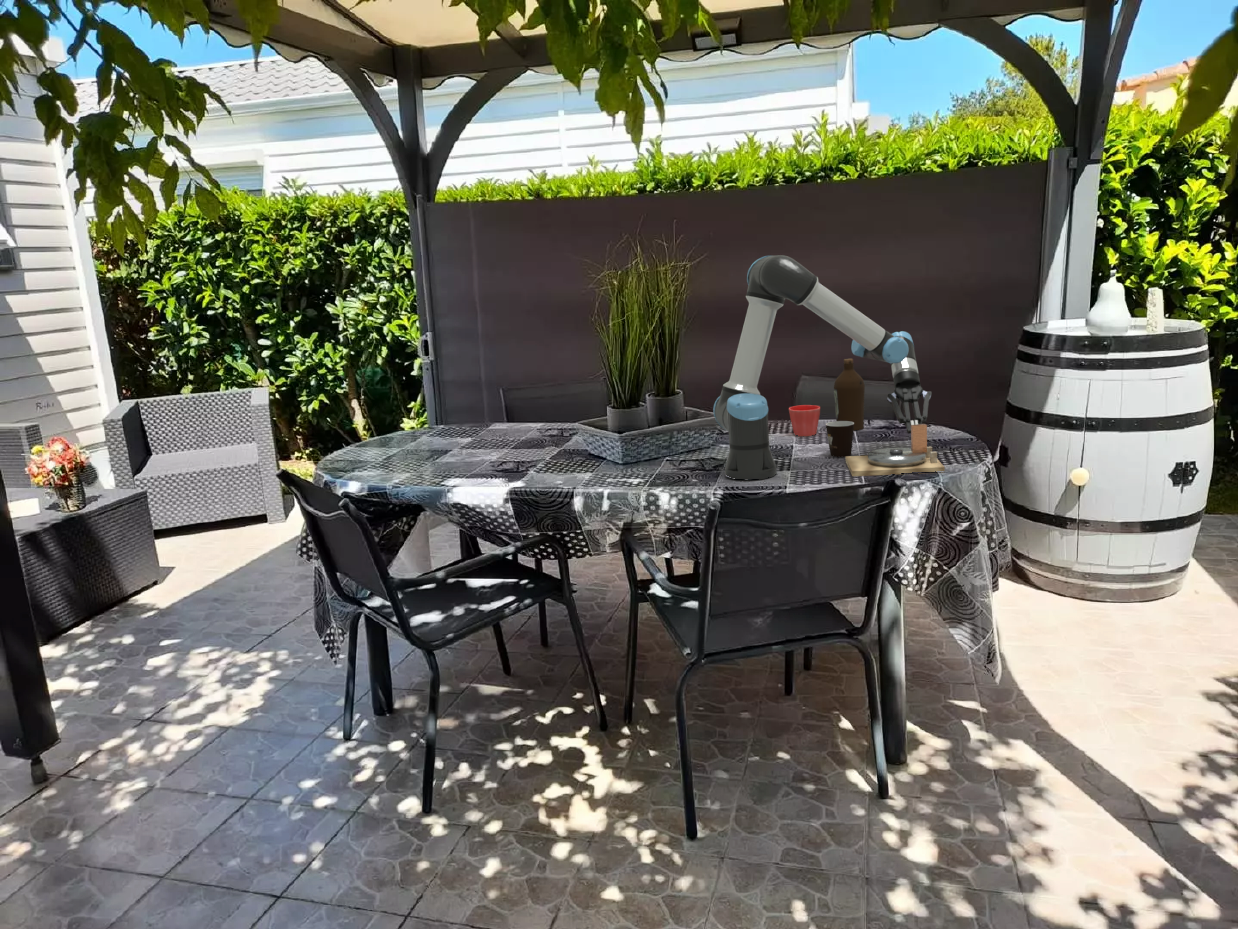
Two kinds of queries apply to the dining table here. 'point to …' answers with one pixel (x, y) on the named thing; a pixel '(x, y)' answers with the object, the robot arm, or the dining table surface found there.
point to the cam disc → (903, 451)
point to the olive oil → (849, 396)
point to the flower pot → (804, 419)
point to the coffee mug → (840, 438)
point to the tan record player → (864, 468)
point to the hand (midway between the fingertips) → (916, 441)
